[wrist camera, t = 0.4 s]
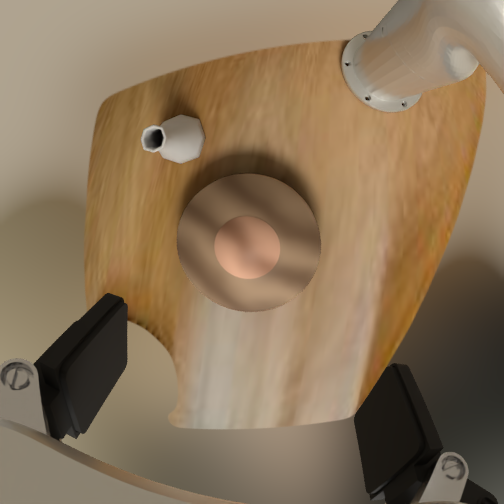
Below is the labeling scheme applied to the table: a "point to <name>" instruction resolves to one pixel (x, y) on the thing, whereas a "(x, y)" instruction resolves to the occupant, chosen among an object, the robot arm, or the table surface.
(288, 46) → the table surface
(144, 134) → the flask
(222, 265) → the turntable
